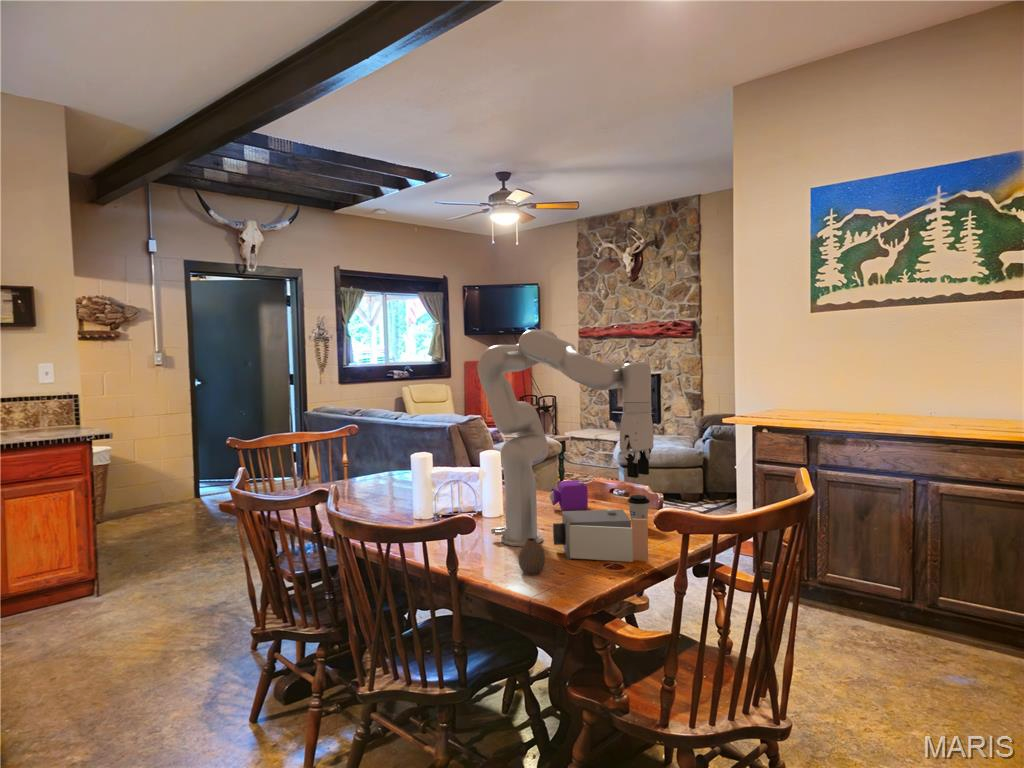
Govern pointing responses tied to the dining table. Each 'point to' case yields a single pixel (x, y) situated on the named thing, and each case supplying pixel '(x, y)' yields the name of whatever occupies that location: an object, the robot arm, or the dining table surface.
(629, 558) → the door
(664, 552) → the dining table surface
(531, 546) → the vase
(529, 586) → the dining table surface
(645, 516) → the coffee cup
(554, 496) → the toy camera
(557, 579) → the dining table surface
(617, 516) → the camera housing
